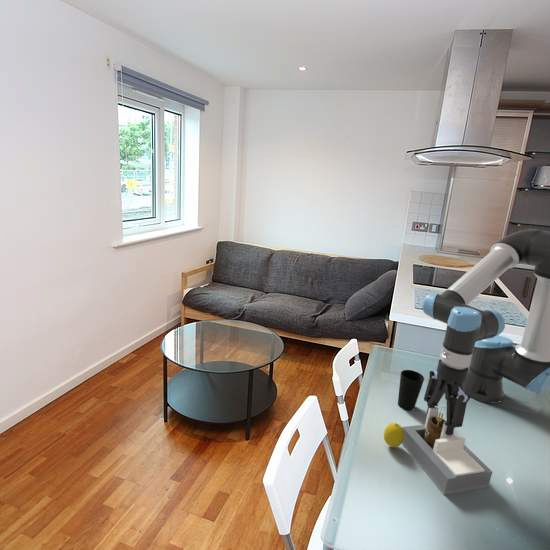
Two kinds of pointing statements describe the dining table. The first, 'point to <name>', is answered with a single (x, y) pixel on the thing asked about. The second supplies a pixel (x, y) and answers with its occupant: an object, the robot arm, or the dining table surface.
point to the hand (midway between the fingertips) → (436, 434)
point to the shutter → (456, 456)
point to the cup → (409, 389)
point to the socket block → (442, 464)
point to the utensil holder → (434, 429)
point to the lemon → (393, 435)
